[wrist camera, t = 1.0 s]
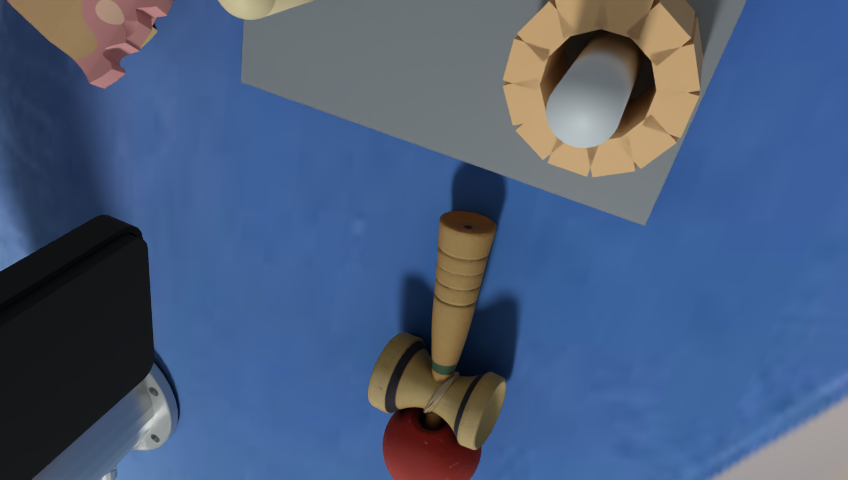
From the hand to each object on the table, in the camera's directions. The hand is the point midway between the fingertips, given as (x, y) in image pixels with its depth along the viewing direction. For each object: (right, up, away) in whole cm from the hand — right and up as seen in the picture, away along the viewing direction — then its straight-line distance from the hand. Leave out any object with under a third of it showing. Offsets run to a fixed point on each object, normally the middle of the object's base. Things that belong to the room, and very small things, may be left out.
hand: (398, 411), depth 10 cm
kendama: (+2, -3, +30) cm, 30 cm away
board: (+2, +13, +20) cm, 25 cm away
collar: (+8, +10, +18) cm, 23 cm away
